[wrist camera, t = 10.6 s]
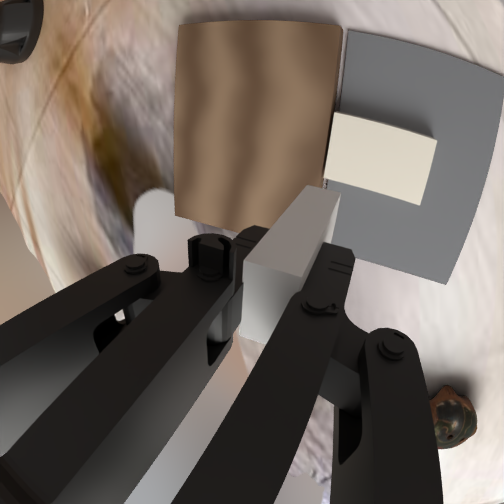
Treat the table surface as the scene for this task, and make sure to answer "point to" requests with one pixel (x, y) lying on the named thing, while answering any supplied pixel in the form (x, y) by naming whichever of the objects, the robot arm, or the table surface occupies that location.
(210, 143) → the serving board
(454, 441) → the decorative turtle
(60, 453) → the robot arm
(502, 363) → the table surface
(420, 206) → the place mat
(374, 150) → the cream rectangular block
